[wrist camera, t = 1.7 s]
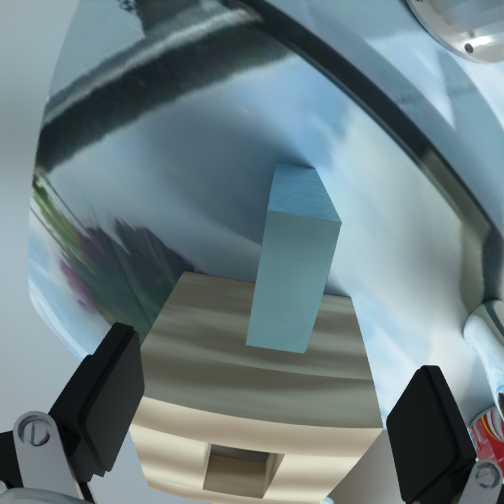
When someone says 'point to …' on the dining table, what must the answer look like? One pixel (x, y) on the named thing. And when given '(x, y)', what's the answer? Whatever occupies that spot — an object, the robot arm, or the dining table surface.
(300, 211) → the tall teal pillar
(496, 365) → the chrome pint tumbler
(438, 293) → the dining table surface
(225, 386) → the wooden box with hole
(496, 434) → the soda can
